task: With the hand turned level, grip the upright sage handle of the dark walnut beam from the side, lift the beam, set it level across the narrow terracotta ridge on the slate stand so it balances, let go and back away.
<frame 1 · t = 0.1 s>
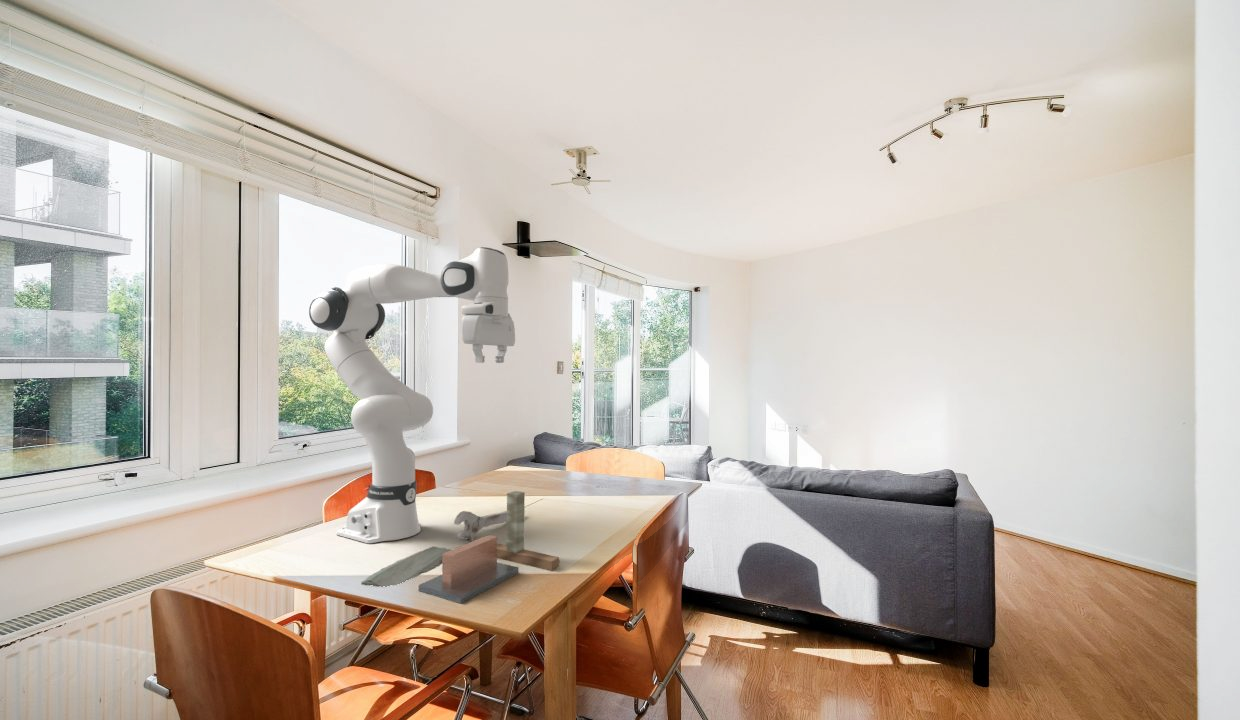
hand: (490, 362, 141), 48 cm above the table, tool pointing down, fingers open, 8 cm apart
stone slab: (411, 571, 126), on the table
wrench: (491, 531, 154), on the table
walnut beam: (515, 560, 132), on the table
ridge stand: (470, 581, 118), on the table
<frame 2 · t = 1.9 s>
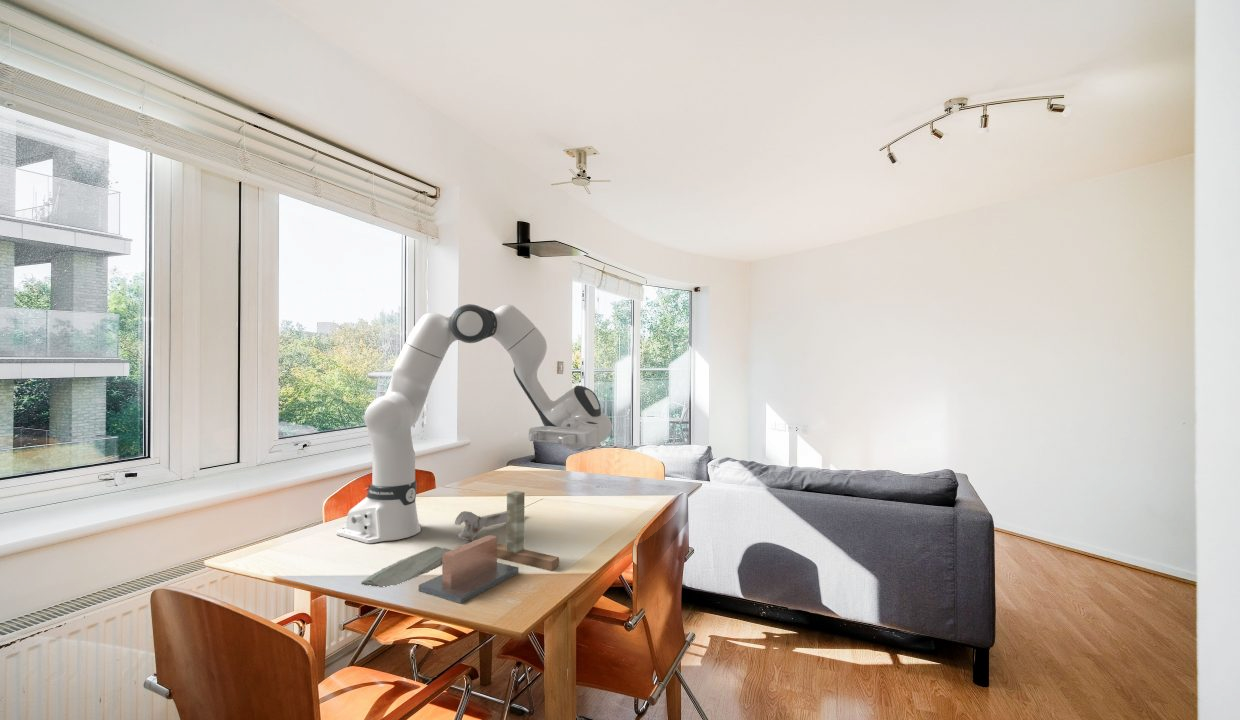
hand: (546, 439, 142), 28 cm above the table, tool horizontal, fingers open, 8 cm apart
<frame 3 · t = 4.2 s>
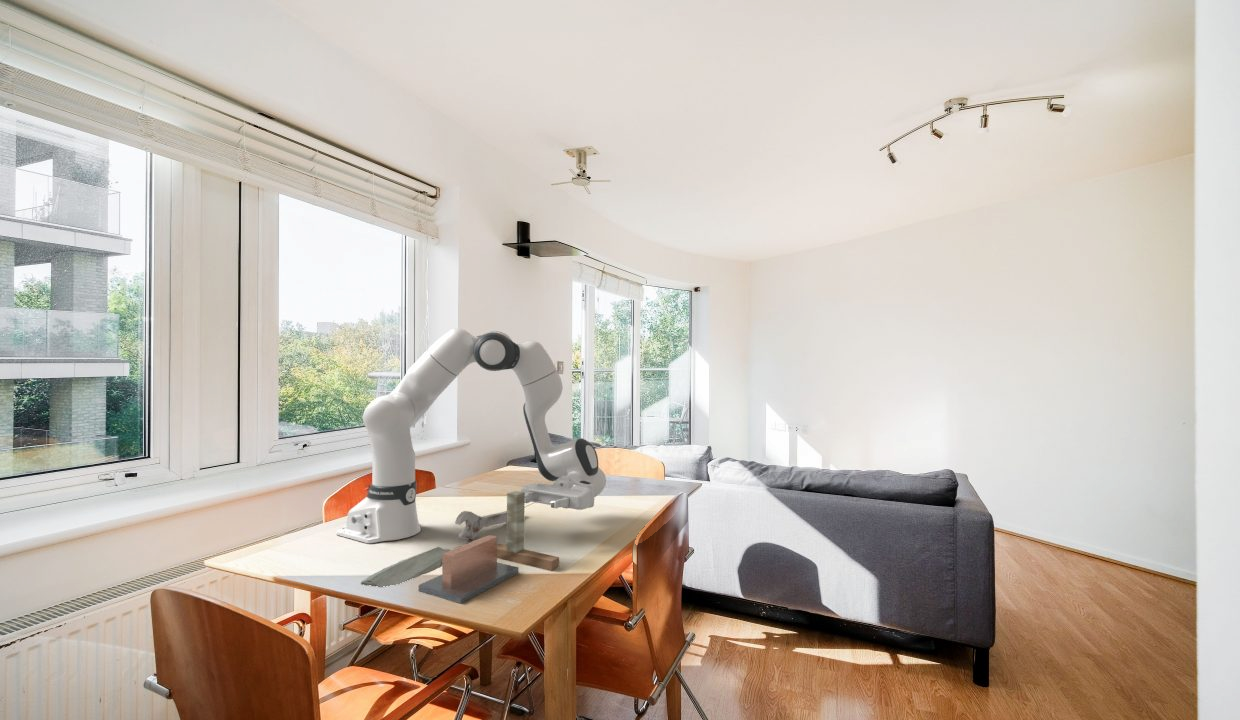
hand: (538, 502, 140), 12 cm above the table, tool horizontal, fingers open, 8 cm apart
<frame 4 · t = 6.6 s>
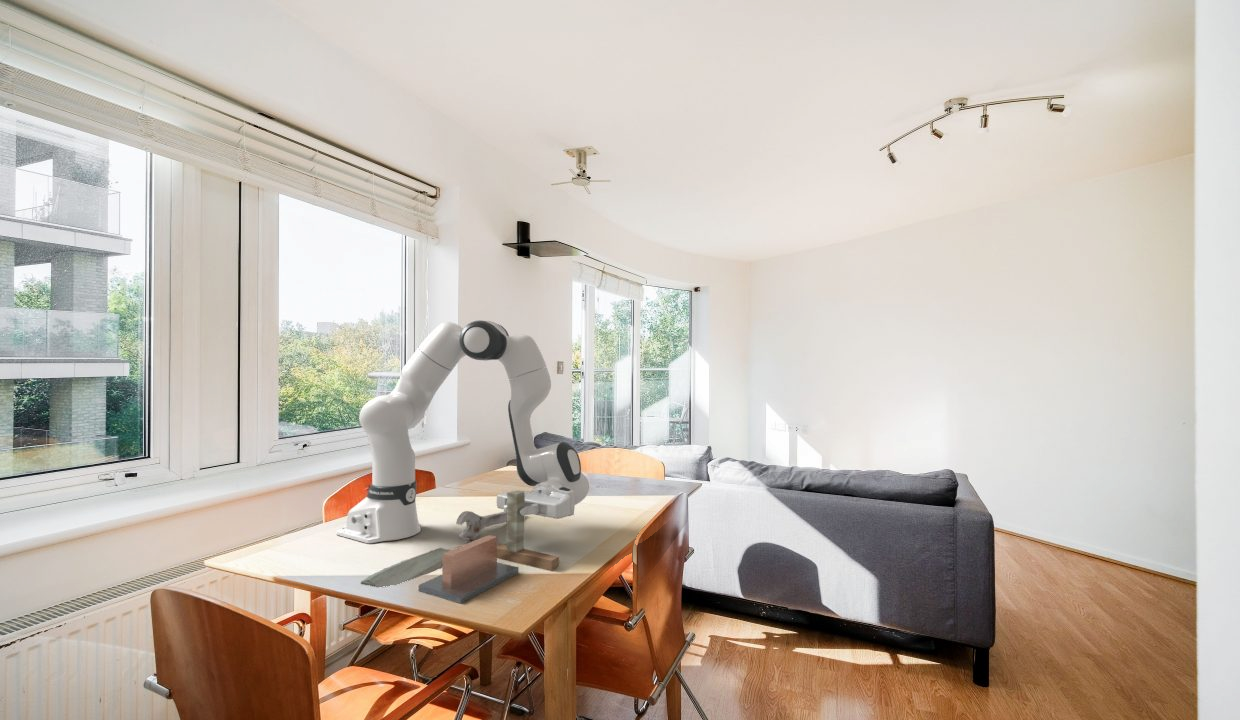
hand: (513, 511, 131), 12 cm above the table, tool horizontal, fingers closed on walnut beam, 3 cm apart
walnut beam: (515, 559, 132), on the table, touching gripper
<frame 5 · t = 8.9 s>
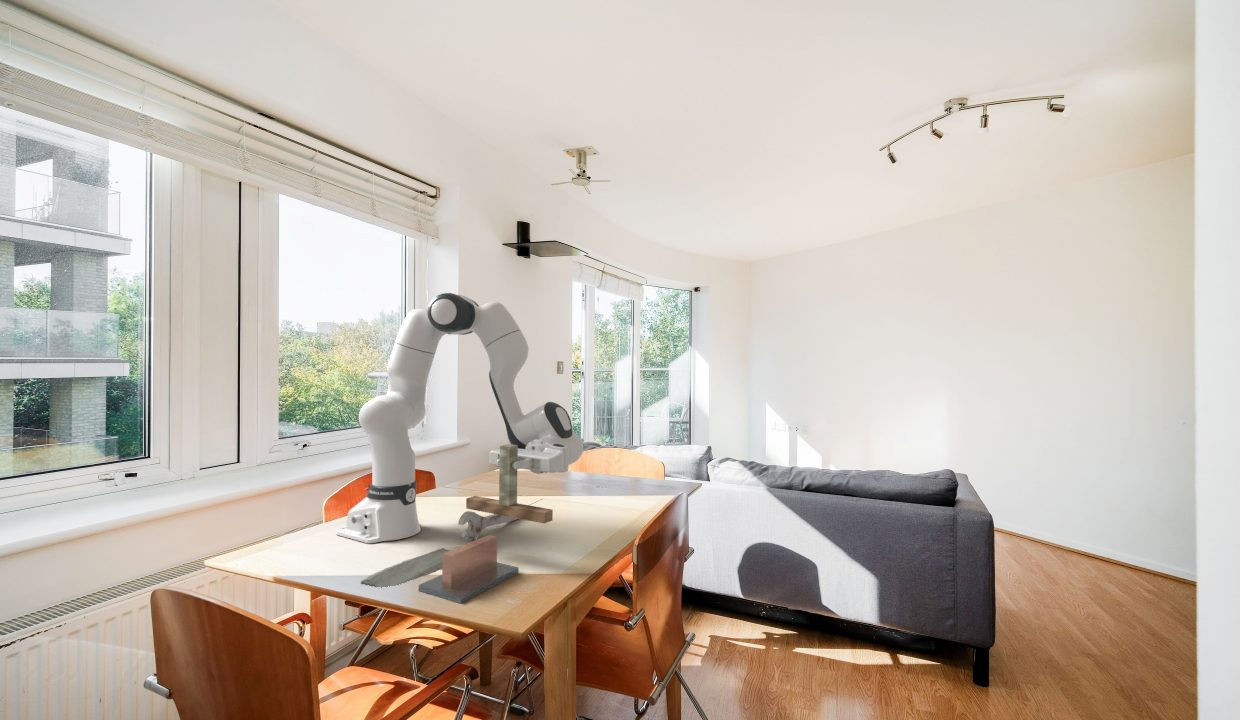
hand: (506, 464, 129), 24 cm above the table, tool horizontal, fingers closed on walnut beam, 3 cm apart
walnut beam: (507, 514, 129), point 12 cm above the table, touching gripper
when the fingers open (21 cm above the table, at t = 10.9 s): walnut beam stays where it is, resting on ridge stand.
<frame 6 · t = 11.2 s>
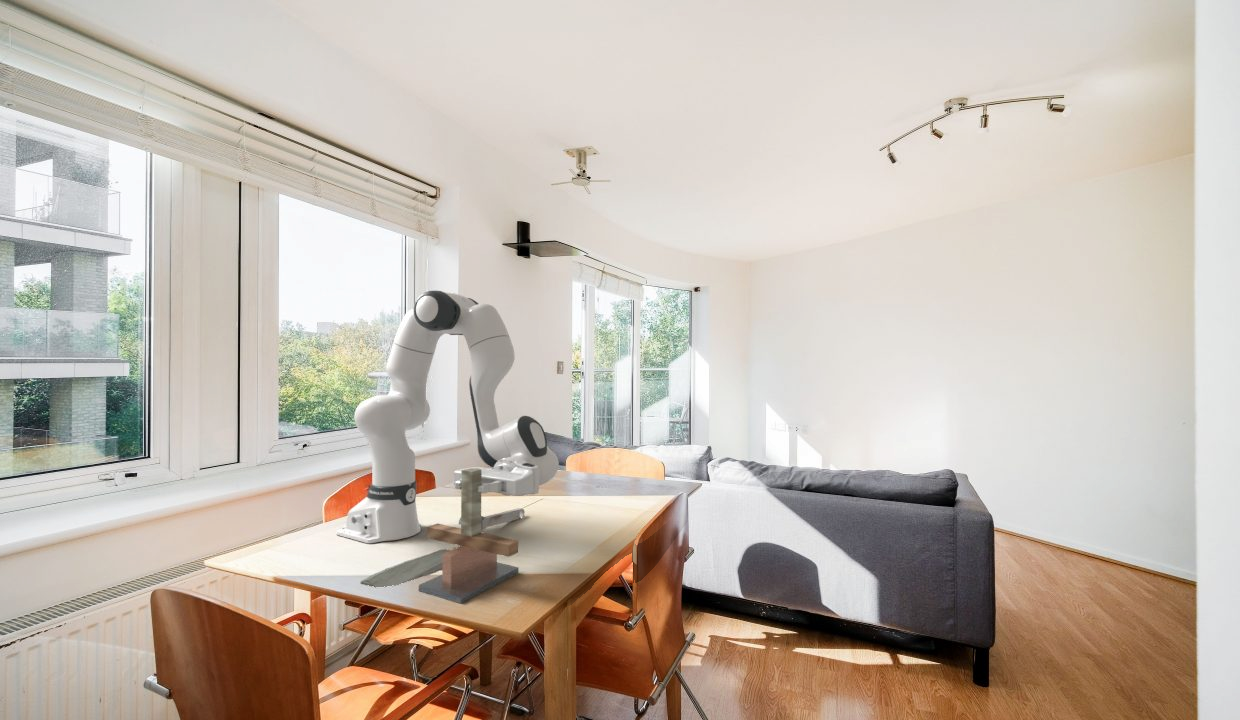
hand: (468, 487, 118), 21 cm above the table, tool horizontal, fingers open, 5 cm apart
walnut beam: (471, 544, 118), point 8 cm above the table, touching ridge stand
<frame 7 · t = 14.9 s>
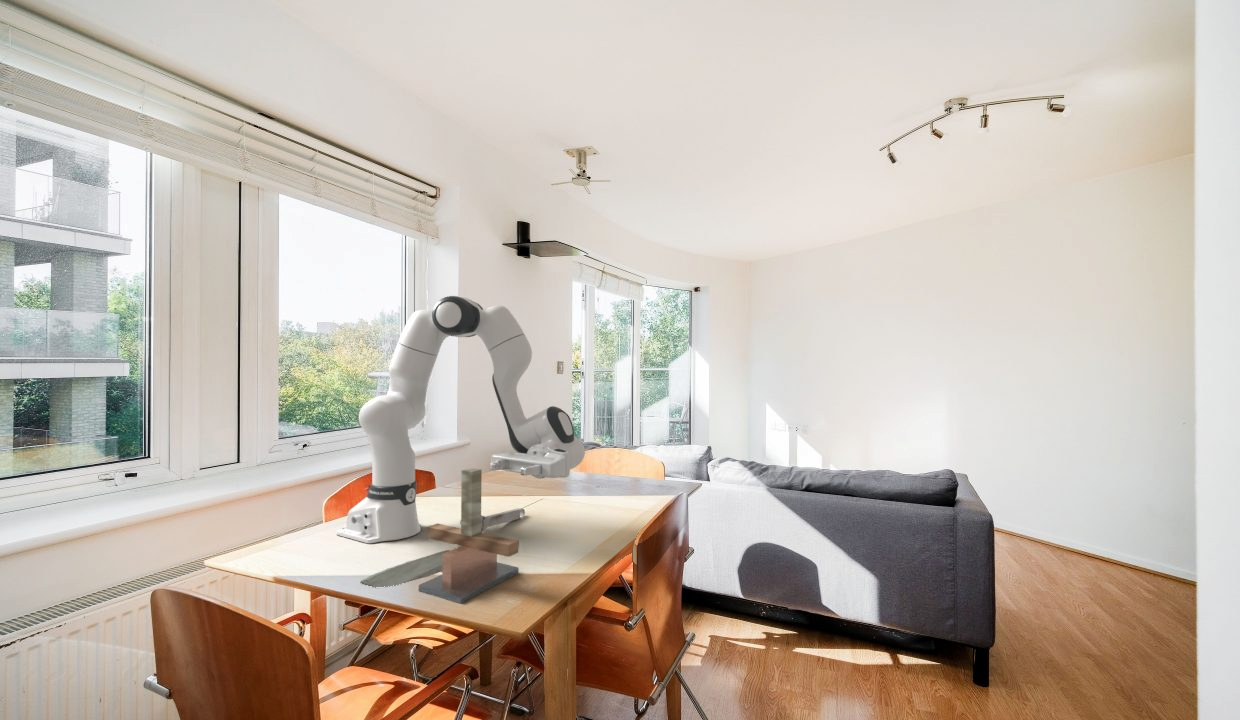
hand: (507, 469, 129), 22 cm above the table, tool horizontal, fingers open, 8 cm apart
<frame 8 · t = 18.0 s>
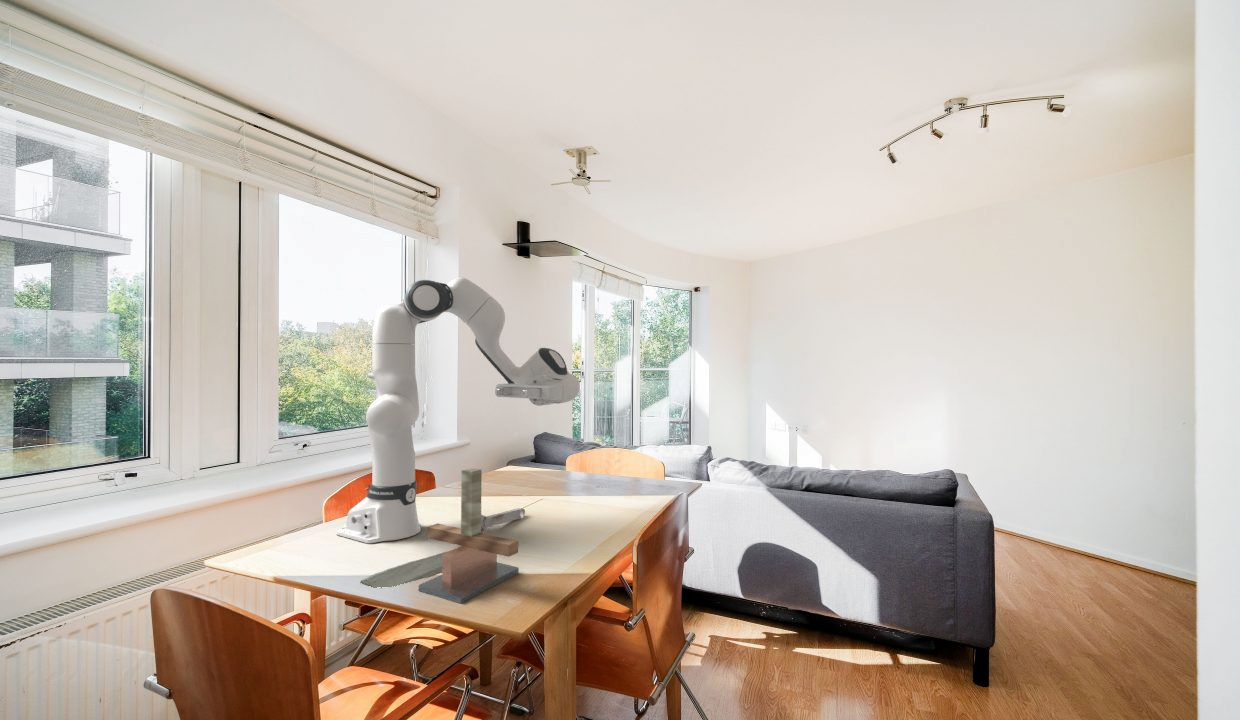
hand: (510, 392, 145), 40 cm above the table, tool horizontal, fingers open, 8 cm apart
at the end: walnut beam 0.0 cm off-centre on the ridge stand, point 8.0 cm above the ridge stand's base; walnut beam tilted 0°; the gripper is holding nothing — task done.
